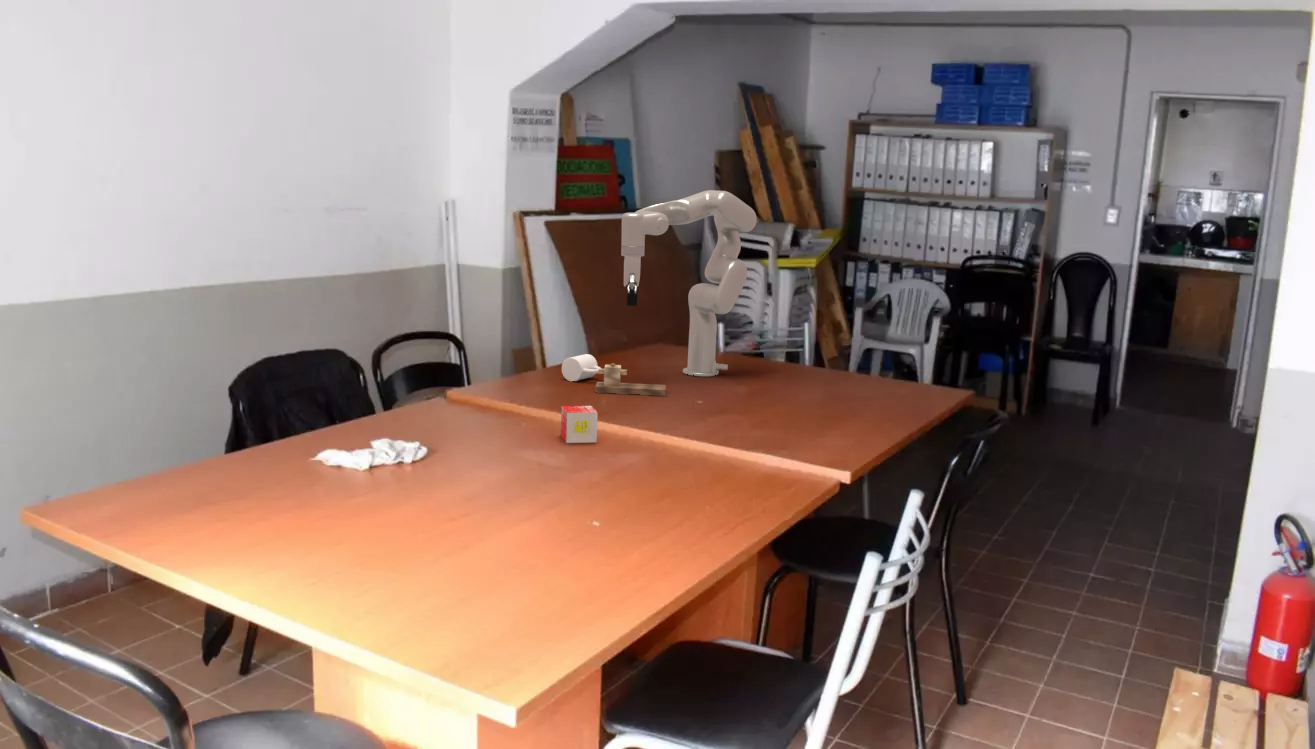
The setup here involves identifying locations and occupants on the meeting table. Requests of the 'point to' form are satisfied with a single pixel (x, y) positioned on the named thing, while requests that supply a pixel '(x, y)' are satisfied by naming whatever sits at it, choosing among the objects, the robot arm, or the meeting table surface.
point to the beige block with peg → (612, 374)
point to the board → (632, 389)
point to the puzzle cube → (579, 424)
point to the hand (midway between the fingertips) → (632, 303)
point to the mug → (579, 367)
